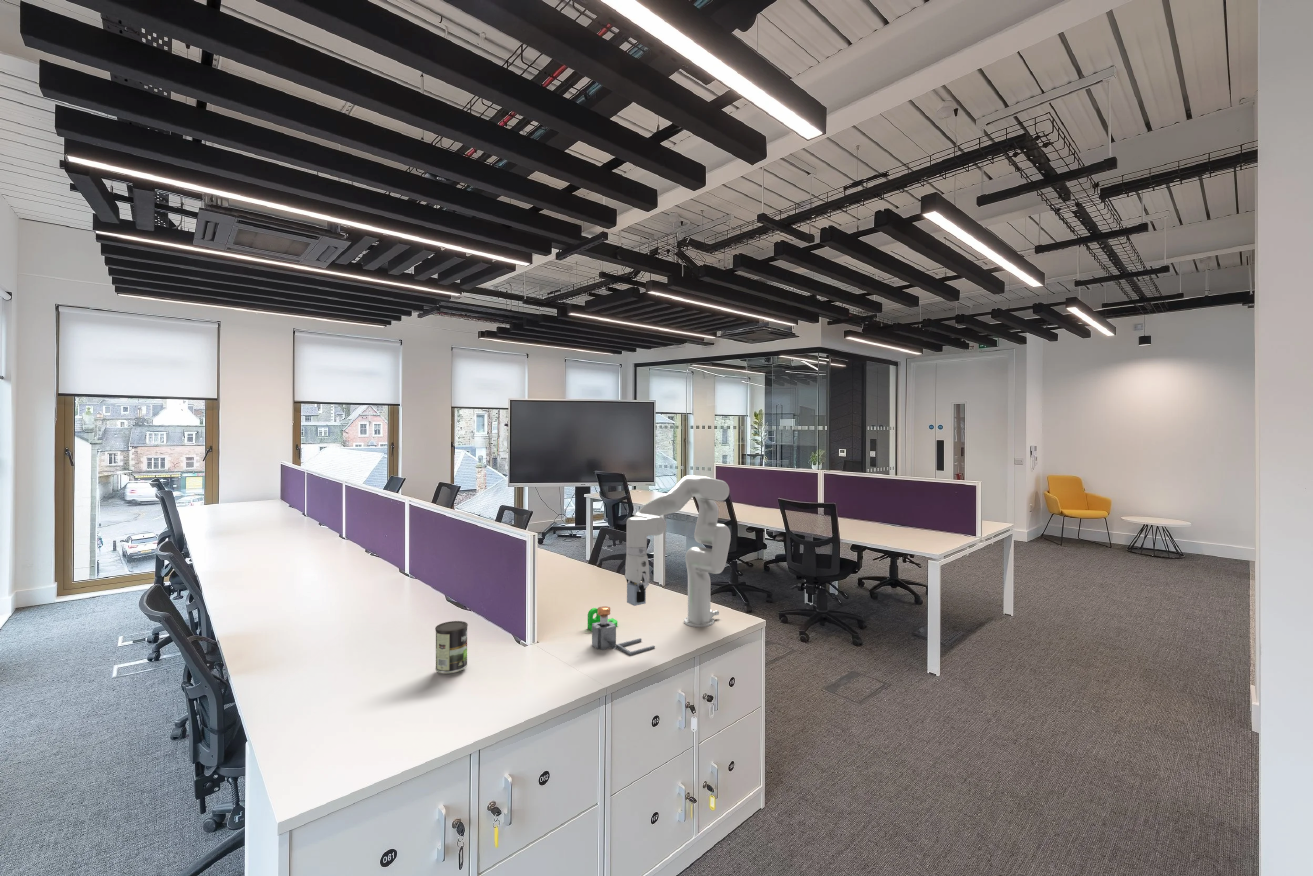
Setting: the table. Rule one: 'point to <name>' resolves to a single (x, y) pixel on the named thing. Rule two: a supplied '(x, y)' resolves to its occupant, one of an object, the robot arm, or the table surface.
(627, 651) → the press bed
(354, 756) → the table surface
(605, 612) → the plunger
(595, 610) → the mechanical part
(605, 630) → the copper disc holder
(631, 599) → the light blue block
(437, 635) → the coffee can
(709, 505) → the robot arm
